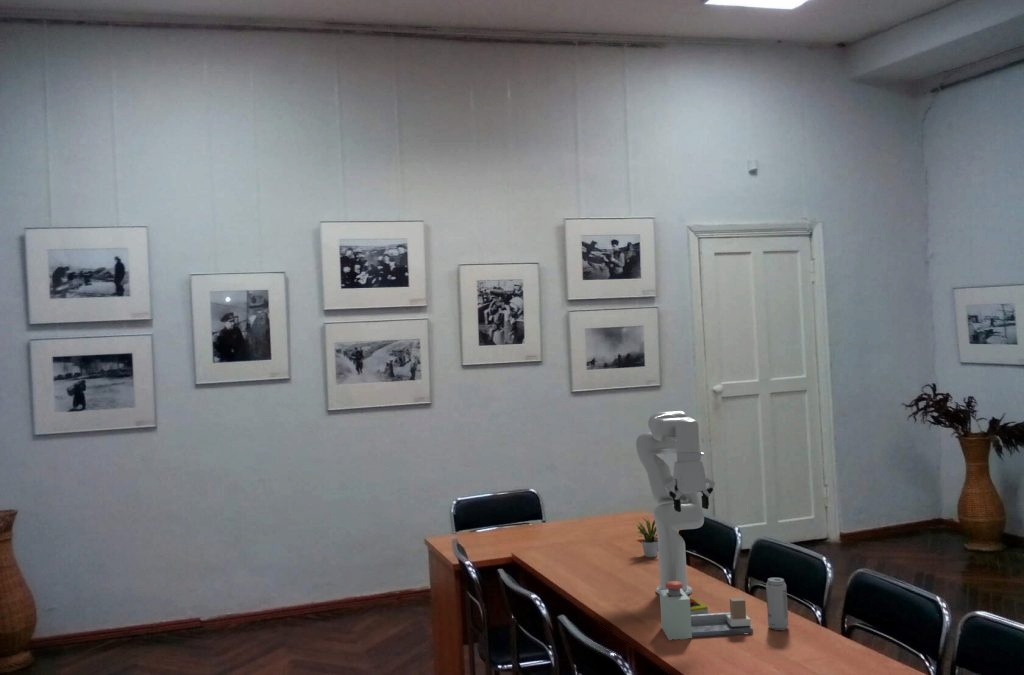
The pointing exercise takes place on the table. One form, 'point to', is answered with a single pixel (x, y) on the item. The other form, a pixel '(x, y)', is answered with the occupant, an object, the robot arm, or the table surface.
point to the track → (715, 625)
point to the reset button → (673, 588)
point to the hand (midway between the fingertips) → (691, 509)
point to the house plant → (649, 539)
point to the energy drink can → (777, 603)
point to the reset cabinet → (675, 615)
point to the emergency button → (697, 607)
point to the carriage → (738, 613)
